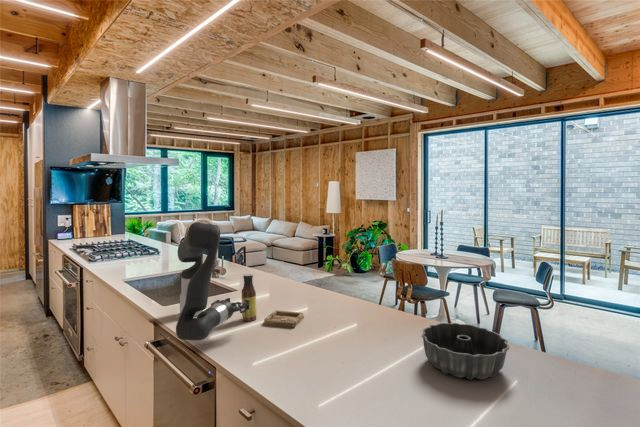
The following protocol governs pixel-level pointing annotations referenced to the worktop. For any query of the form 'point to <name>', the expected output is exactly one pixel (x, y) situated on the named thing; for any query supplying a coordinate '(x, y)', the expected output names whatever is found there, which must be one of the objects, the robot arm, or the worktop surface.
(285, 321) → the dock
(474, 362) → the bundt pan
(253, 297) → the sauce bottle
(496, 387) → the worktop surface
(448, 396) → the worktop surface
